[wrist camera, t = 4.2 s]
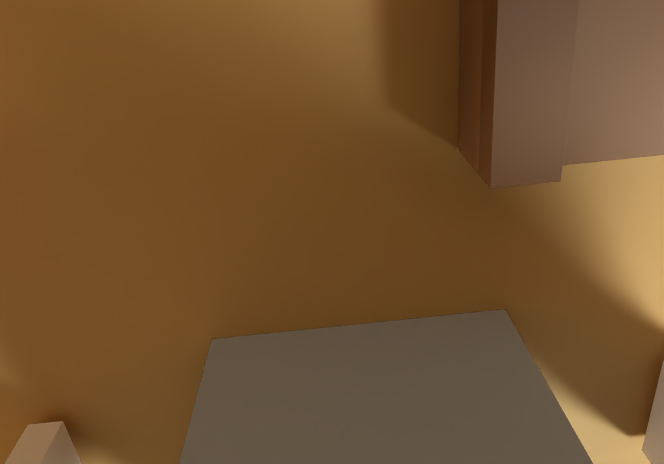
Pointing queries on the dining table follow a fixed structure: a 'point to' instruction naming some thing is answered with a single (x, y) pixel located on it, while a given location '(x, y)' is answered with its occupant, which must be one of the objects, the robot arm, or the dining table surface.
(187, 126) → the dining table surface
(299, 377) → the cube
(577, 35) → the board
